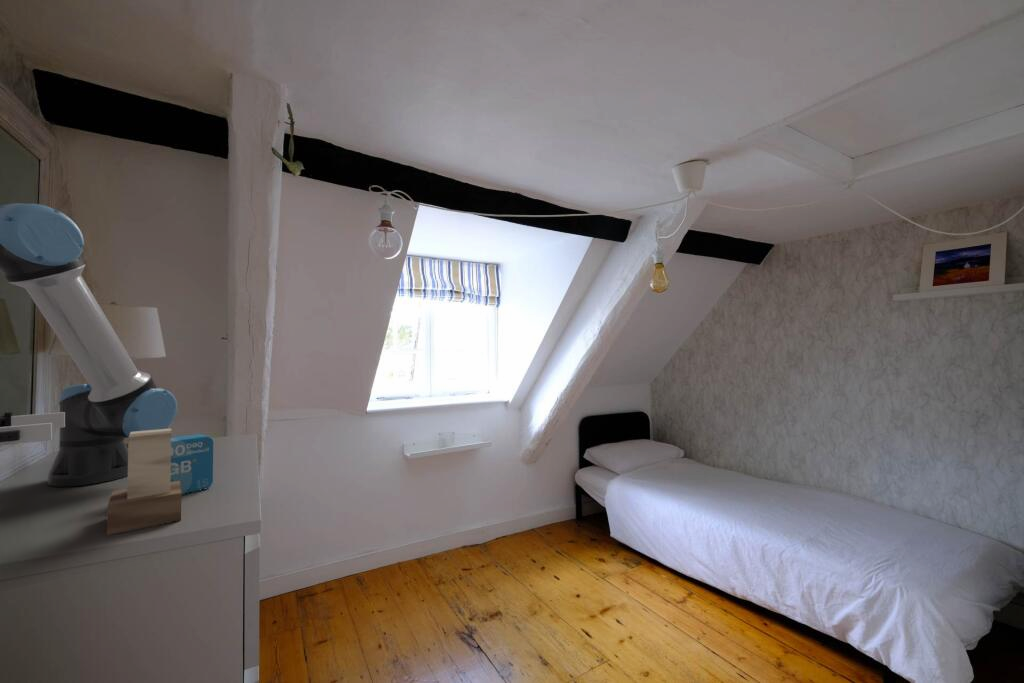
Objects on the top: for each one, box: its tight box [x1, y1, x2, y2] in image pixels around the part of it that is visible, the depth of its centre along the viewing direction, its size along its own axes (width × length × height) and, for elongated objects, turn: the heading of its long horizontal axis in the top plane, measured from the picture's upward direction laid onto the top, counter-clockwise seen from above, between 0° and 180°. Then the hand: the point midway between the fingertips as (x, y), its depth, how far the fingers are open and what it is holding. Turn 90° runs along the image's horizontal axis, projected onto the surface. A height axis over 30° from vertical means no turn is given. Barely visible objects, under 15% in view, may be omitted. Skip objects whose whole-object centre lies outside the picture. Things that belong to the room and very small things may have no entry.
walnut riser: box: [106, 481, 182, 536], centre depth 81 cm, size 10×10×5 cm
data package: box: [171, 433, 214, 495], centre depth 96 cm, size 12×4×12 cm, turn 144°
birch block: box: [127, 427, 172, 499], centre depth 81 cm, size 6×6×11 cm
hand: (58, 425), depth 75 cm, fingers open, 13 cm apart
